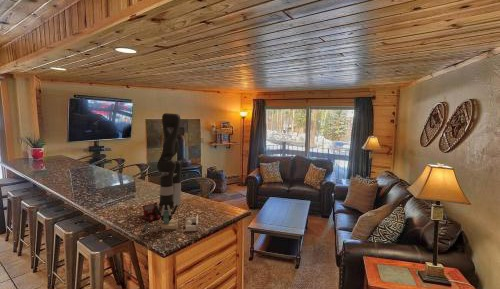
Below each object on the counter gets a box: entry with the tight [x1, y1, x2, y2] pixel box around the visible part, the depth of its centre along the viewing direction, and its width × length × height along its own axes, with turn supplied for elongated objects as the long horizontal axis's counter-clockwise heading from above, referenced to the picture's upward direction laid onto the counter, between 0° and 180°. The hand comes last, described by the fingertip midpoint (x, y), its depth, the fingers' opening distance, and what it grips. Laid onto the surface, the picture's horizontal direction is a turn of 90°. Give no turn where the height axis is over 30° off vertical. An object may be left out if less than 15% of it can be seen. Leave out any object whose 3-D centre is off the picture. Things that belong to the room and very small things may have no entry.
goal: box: [185, 214, 199, 232], centre depth 162 cm, size 13×7×4 cm, turn 10°
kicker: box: [160, 210, 179, 229], centre depth 160 cm, size 8×9×9 cm
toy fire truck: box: [142, 201, 162, 223], centre depth 171 cm, size 7×12×10 cm, turn 139°
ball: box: [184, 219, 193, 227], centre depth 162 cm, size 4×4×4 cm
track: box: [143, 220, 181, 232], centre depth 159 cm, size 9×20×2 cm, turn 100°
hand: (166, 220), depth 159 cm, fingers closed on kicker, 3 cm apart
